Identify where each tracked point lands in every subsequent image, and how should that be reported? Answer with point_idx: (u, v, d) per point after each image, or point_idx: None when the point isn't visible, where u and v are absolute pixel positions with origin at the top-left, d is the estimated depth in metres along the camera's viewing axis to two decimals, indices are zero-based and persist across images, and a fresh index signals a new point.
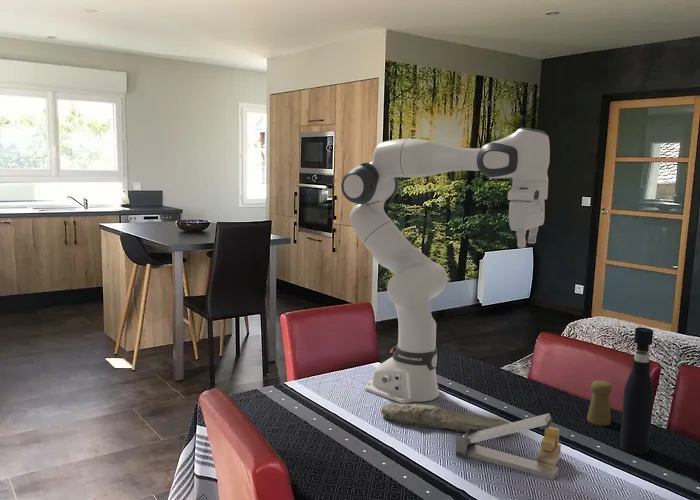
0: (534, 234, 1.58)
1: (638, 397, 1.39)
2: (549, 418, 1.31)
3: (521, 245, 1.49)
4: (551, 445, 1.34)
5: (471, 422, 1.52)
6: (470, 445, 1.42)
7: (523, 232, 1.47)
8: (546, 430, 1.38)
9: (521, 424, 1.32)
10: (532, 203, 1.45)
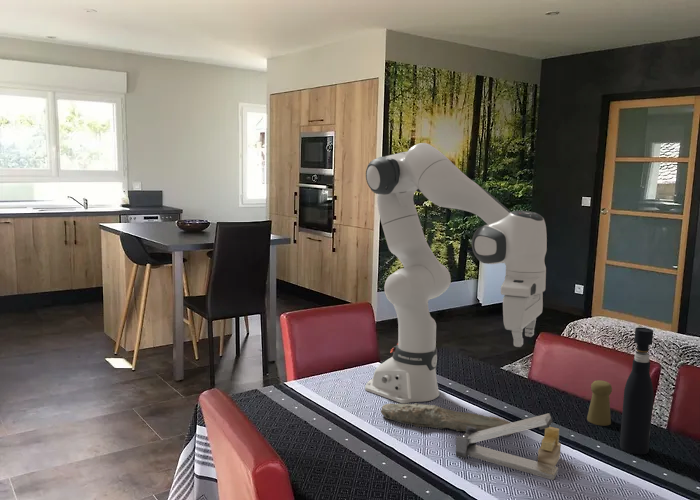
0: (532, 326, 1.41)
1: (638, 397, 1.39)
2: (549, 418, 1.31)
3: (518, 344, 1.32)
4: (551, 445, 1.34)
5: (471, 422, 1.52)
6: (470, 445, 1.42)
7: (519, 330, 1.30)
8: (546, 430, 1.38)
9: (521, 424, 1.32)
10: (529, 299, 1.28)
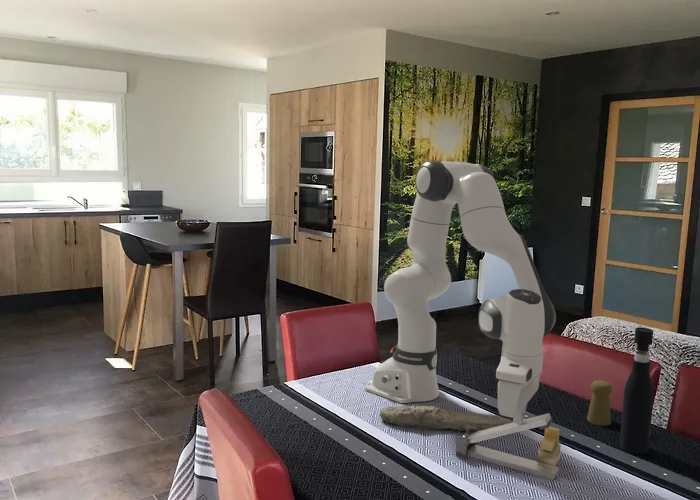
0: (522, 410, 1.34)
1: (638, 397, 1.39)
2: (549, 418, 1.31)
3: (517, 421, 1.33)
4: (551, 445, 1.34)
5: (472, 421, 1.53)
6: (470, 445, 1.42)
7: None
8: (546, 430, 1.38)
9: (521, 424, 1.32)
10: (524, 385, 1.25)
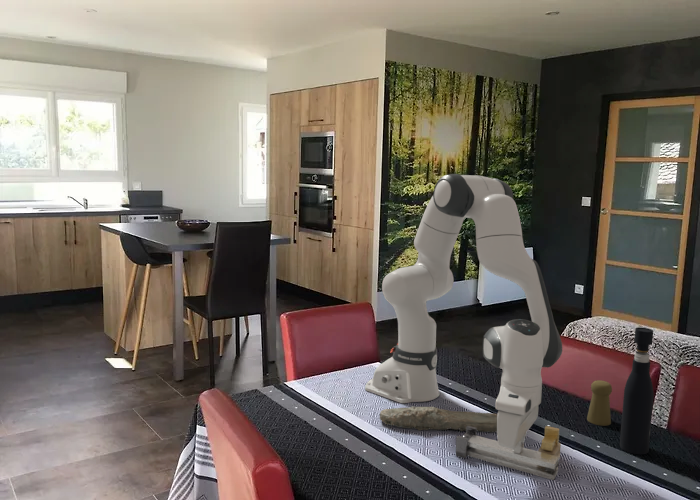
0: (522, 439, 1.35)
1: (638, 397, 1.39)
2: (557, 462, 1.31)
3: (517, 450, 1.33)
4: (551, 445, 1.34)
5: (473, 420, 1.53)
6: None
7: None
8: (546, 430, 1.38)
9: (528, 456, 1.32)
10: (523, 416, 1.26)
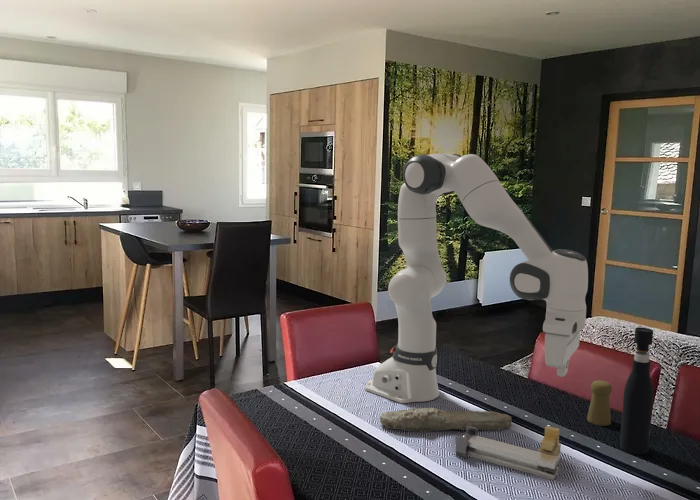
0: (565, 364, 1.42)
1: (638, 397, 1.39)
2: (557, 462, 1.31)
3: (561, 374, 1.40)
4: (551, 445, 1.34)
5: (474, 419, 1.54)
6: None
7: None
8: (546, 430, 1.38)
9: (528, 456, 1.32)
10: (570, 337, 1.33)
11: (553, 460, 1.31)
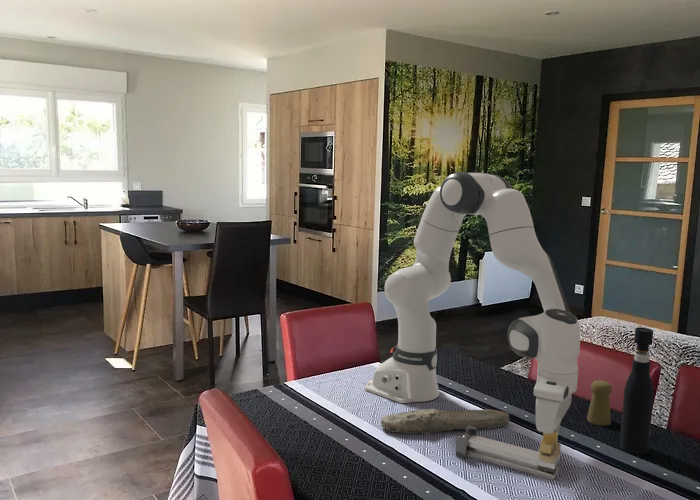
0: (557, 425, 1.39)
1: (638, 397, 1.39)
2: (557, 462, 1.31)
3: None
4: (549, 447, 1.33)
5: (474, 418, 1.55)
6: None
7: None
8: None
9: (528, 456, 1.32)
10: (561, 402, 1.30)
11: (553, 460, 1.31)
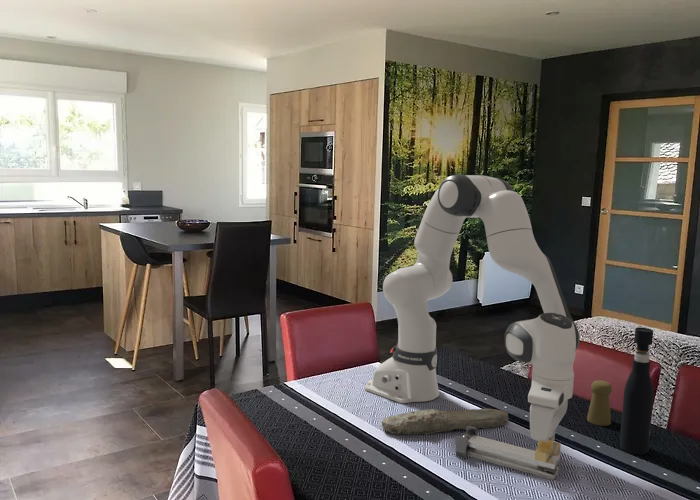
0: (552, 432, 1.35)
1: (638, 397, 1.39)
2: (557, 462, 1.31)
3: None
4: (545, 456, 1.29)
5: (474, 417, 1.55)
6: None
7: None
8: None
9: (528, 456, 1.32)
10: (556, 409, 1.26)
11: (553, 460, 1.31)
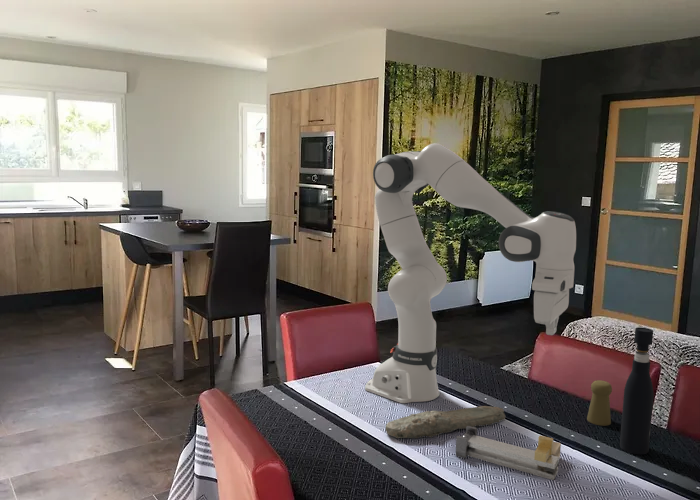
0: (554, 323, 1.46)
1: (638, 397, 1.39)
2: (557, 462, 1.31)
3: (550, 332, 1.44)
4: (544, 456, 1.29)
5: (474, 416, 1.56)
6: None
7: None
8: (539, 440, 1.33)
9: (528, 456, 1.32)
10: (558, 294, 1.37)
11: (553, 460, 1.31)
